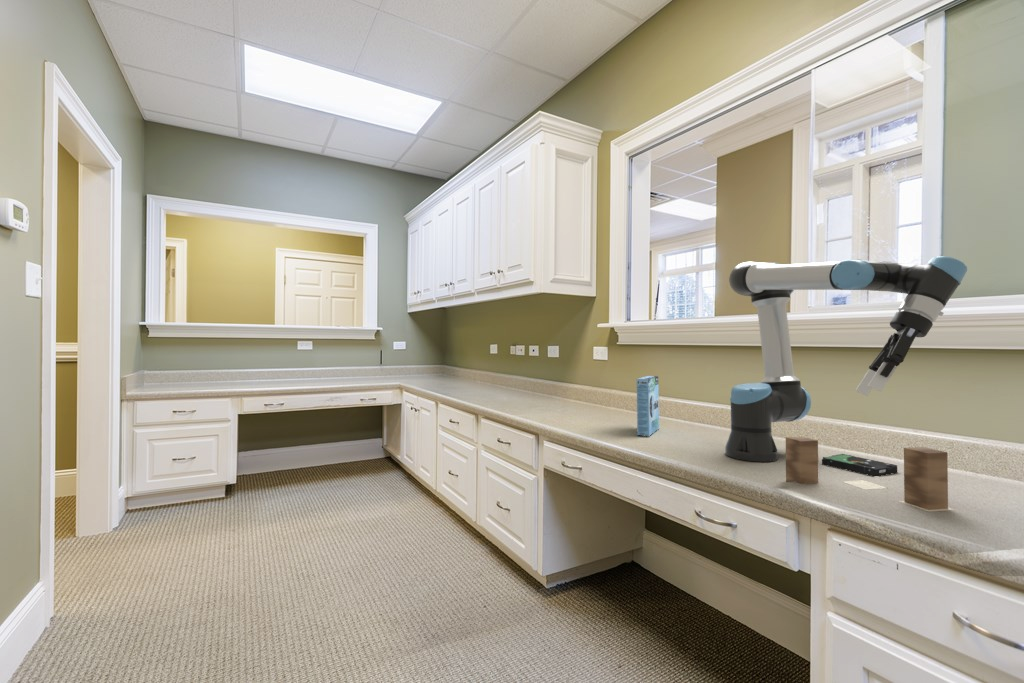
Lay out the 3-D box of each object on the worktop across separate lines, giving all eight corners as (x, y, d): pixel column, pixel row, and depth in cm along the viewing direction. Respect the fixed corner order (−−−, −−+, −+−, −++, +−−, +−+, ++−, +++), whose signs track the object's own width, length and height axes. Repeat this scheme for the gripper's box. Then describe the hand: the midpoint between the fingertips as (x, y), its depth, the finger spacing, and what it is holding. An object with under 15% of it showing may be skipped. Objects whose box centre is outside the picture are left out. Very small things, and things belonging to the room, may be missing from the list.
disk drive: (898, 475, 128) (842, 461, 142) (898, 465, 128) (842, 452, 142) (876, 479, 124) (820, 465, 138) (876, 469, 124) (821, 456, 138)
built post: (904, 501, 101) (903, 447, 101) (923, 500, 102) (922, 447, 102) (928, 510, 96) (927, 453, 96) (948, 508, 97) (947, 452, 97)
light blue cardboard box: (649, 437, 178) (648, 379, 178) (636, 436, 181) (635, 378, 181) (659, 429, 195) (659, 375, 195) (647, 428, 198) (647, 375, 198)
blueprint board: (818, 483, 118) (818, 478, 118) (889, 483, 118) (889, 478, 118) (890, 517, 95) (890, 511, 95) (978, 517, 95) (978, 511, 95)
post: (786, 482, 120) (785, 437, 120) (802, 481, 120) (802, 436, 120) (800, 488, 115) (800, 441, 115) (818, 487, 115) (817, 440, 115)
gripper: (954, 311, 99) (899, 394, 101) (916, 333, 121) (871, 401, 122) (914, 297, 103) (862, 377, 104) (884, 321, 124) (841, 387, 126)
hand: (867, 391), depth 113 cm, fingers open, 13 cm apart
